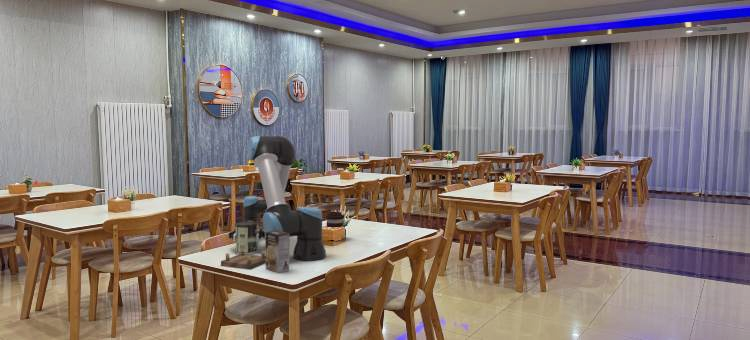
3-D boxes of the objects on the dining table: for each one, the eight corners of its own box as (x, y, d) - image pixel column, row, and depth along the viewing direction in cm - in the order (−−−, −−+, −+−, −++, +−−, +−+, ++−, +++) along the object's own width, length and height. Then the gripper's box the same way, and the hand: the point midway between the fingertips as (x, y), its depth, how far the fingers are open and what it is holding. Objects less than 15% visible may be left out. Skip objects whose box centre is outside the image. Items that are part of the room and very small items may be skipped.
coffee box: (264, 269, 225) (264, 231, 224) (276, 266, 230) (276, 229, 229) (278, 273, 219) (278, 235, 218) (290, 270, 224) (290, 232, 223)
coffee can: (256, 249, 261) (256, 220, 260) (258, 253, 251) (258, 224, 250) (234, 250, 258) (234, 221, 257) (236, 255, 248) (235, 225, 247)
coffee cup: (326, 242, 278) (326, 214, 277) (324, 238, 288) (324, 211, 287) (345, 241, 280) (345, 213, 279) (342, 237, 290) (342, 210, 289)
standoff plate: (269, 261, 238) (269, 250, 238) (250, 269, 224) (250, 257, 224) (241, 257, 243) (241, 247, 243) (220, 265, 229) (220, 254, 229)
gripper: (271, 236, 274) (270, 245, 252) (226, 237, 270) (221, 246, 248) (271, 221, 273) (270, 230, 251) (226, 222, 270) (220, 231, 248)
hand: (245, 238), depth 250 cm, fingers closed on coffee can, 10 cm apart
